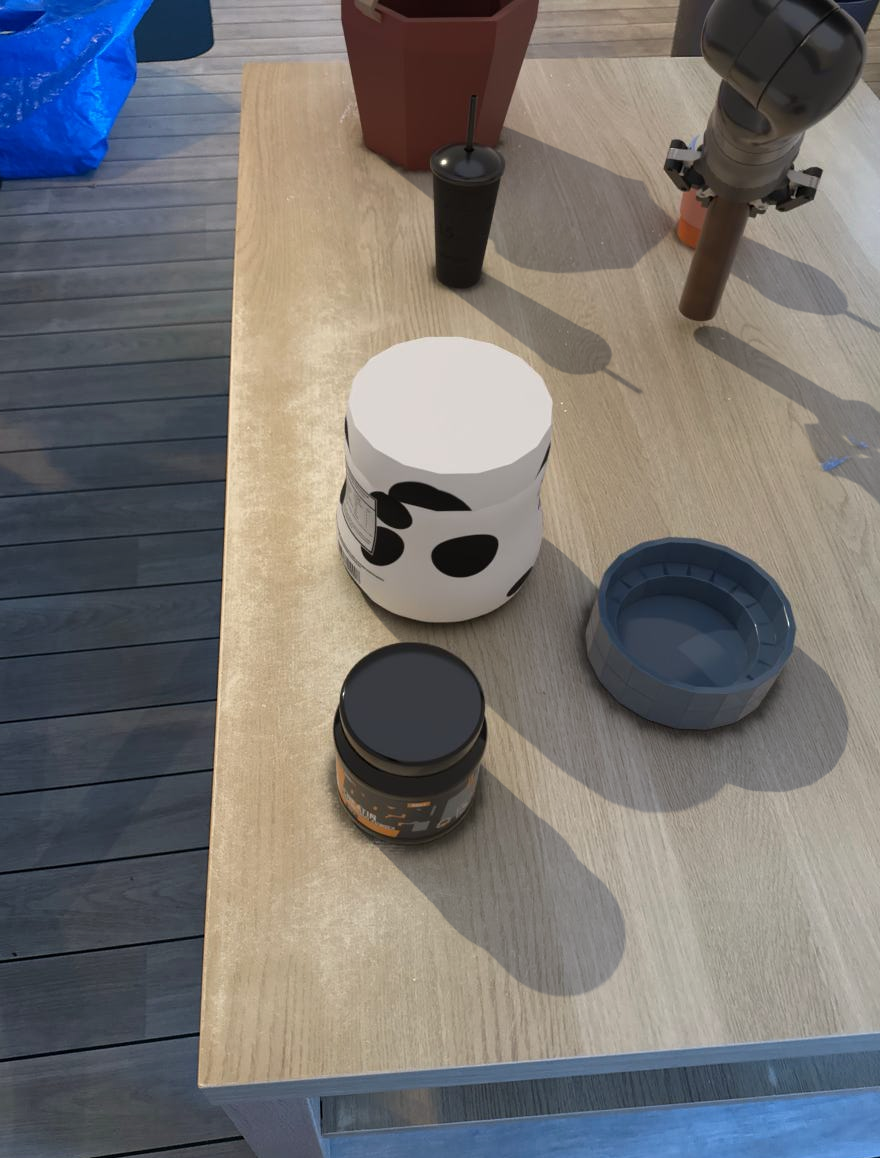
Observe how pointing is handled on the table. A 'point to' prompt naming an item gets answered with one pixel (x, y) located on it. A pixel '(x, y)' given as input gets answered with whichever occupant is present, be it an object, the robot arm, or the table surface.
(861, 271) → the table surface
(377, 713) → the supplement container
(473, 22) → the bucket
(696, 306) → the brown cylinder
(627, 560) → the bowl
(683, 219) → the cup with straw
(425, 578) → the milk container
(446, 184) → the drinking cup
